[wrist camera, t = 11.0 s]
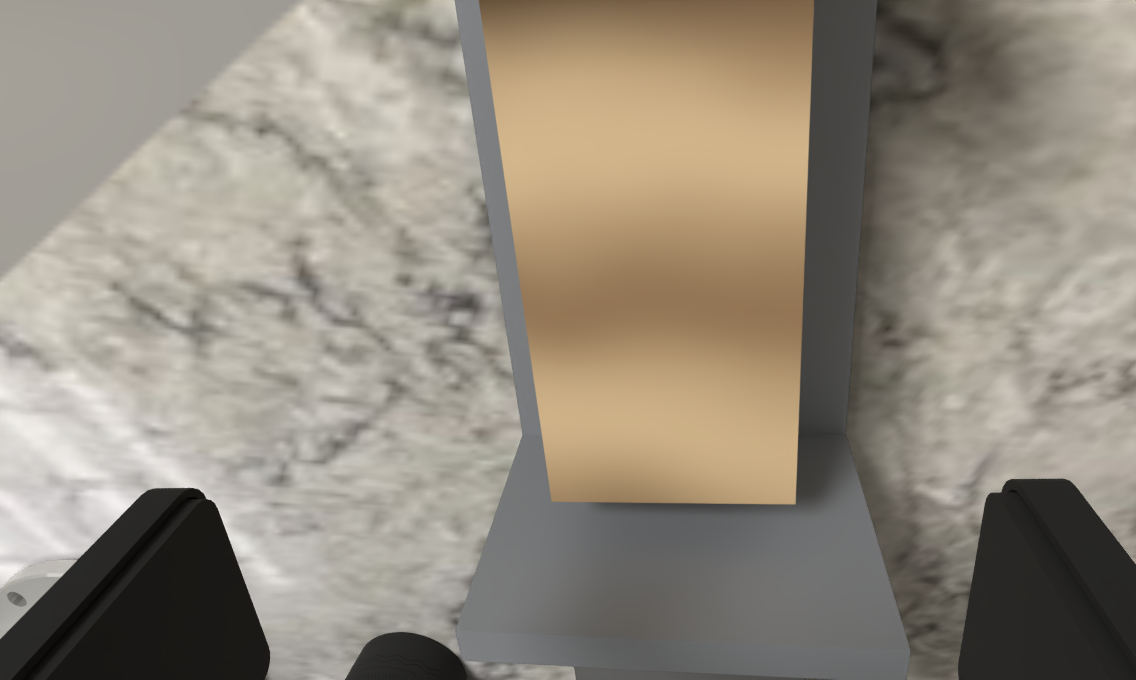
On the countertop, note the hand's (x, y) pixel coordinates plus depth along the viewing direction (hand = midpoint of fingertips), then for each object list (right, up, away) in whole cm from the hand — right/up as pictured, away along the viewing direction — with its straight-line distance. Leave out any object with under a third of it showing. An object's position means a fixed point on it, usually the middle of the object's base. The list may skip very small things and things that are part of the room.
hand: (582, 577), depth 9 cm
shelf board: (+2, +5, +9) cm, 10 cm away
